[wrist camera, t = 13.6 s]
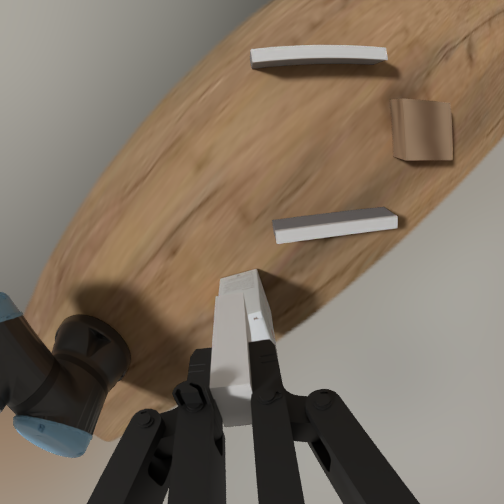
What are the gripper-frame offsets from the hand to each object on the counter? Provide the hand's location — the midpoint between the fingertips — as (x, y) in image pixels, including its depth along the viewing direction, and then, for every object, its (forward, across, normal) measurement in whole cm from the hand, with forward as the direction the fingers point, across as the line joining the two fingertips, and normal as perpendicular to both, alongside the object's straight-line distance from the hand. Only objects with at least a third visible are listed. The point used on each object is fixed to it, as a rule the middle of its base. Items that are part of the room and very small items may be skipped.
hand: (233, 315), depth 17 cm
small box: (+25, 0, -14) cm, 29 cm away
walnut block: (+24, +27, +8) cm, 37 cm away
